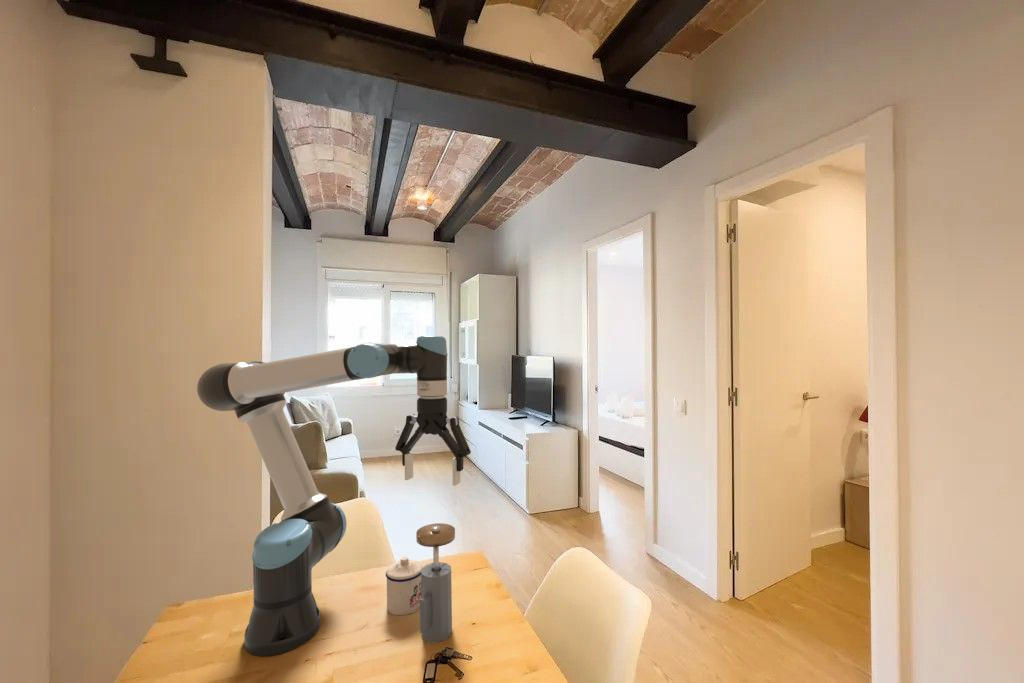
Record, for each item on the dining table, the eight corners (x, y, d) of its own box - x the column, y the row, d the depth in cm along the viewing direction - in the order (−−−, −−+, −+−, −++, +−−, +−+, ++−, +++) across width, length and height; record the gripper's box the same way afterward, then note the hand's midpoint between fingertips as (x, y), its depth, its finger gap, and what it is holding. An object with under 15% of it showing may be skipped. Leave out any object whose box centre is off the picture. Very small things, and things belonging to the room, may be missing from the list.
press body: (409, 646, 92) (408, 580, 93) (431, 620, 101) (430, 560, 102) (436, 653, 90) (435, 586, 90) (456, 626, 99) (456, 564, 99)
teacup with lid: (416, 617, 102) (416, 568, 103) (379, 615, 103) (379, 566, 104) (431, 589, 114) (430, 545, 115) (398, 588, 115) (397, 544, 116)
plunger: (409, 599, 95) (408, 532, 95) (429, 579, 103) (428, 518, 103) (444, 606, 92) (443, 537, 92) (462, 585, 100) (461, 522, 100)
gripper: (381, 396, 110) (381, 480, 109) (470, 400, 101) (471, 491, 101) (398, 393, 117) (398, 472, 116) (483, 396, 108) (483, 481, 108)
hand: (432, 481), depth 109 cm, fingers open, 13 cm apart
